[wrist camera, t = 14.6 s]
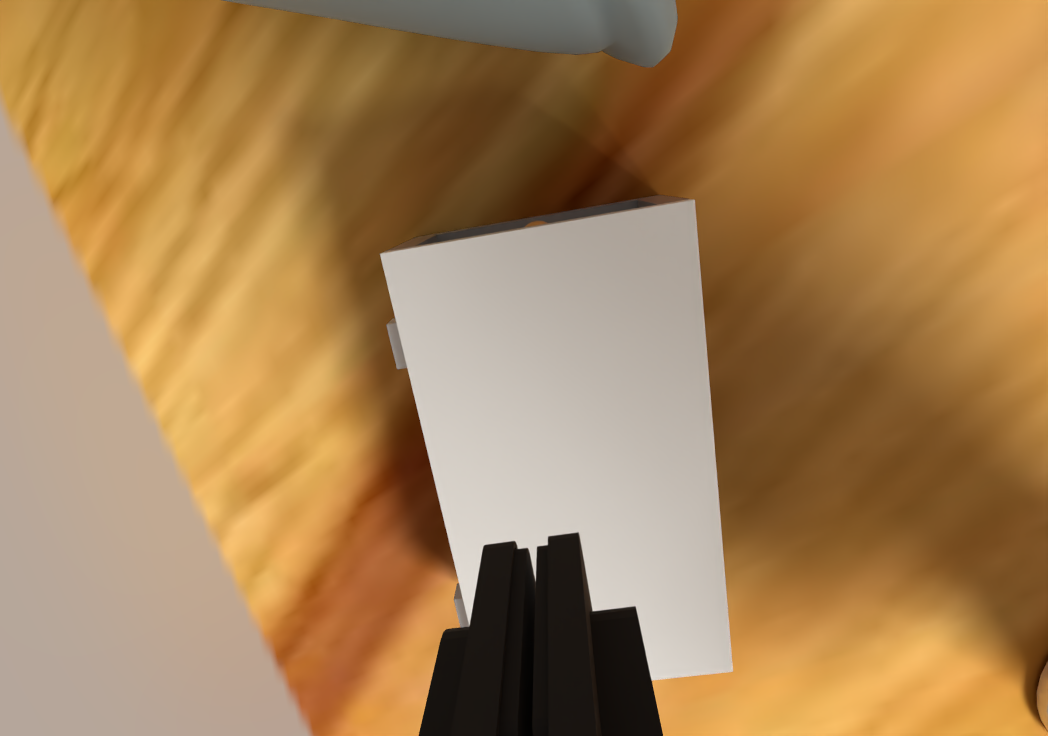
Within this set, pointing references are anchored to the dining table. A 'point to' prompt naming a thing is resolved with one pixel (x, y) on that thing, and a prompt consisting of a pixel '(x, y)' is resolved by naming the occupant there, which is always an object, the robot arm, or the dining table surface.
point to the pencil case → (516, 22)
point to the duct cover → (577, 411)
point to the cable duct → (500, 227)
